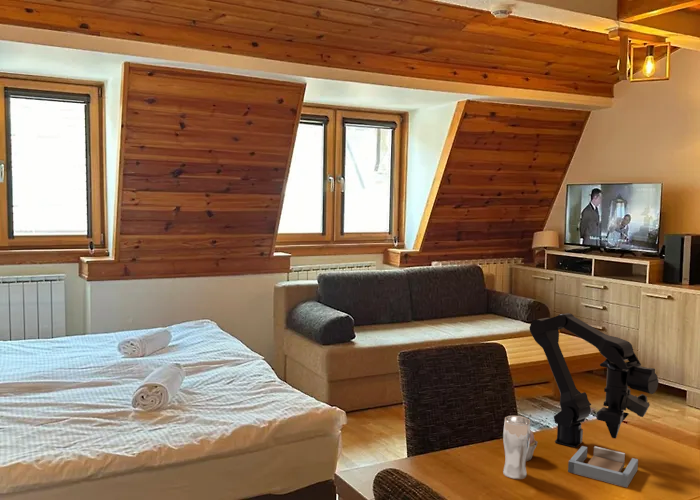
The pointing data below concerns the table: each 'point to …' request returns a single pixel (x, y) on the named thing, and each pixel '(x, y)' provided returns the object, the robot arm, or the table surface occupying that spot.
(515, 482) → the table surface
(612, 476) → the bay
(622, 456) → the l-shaped bracket
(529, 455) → the cupcake
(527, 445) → the beer glass
